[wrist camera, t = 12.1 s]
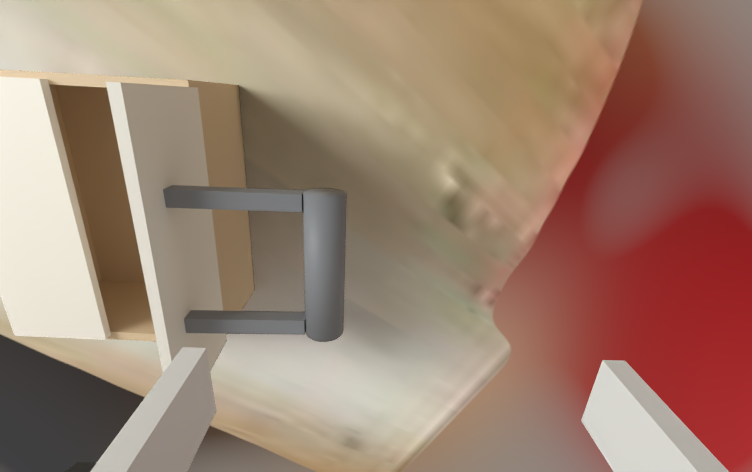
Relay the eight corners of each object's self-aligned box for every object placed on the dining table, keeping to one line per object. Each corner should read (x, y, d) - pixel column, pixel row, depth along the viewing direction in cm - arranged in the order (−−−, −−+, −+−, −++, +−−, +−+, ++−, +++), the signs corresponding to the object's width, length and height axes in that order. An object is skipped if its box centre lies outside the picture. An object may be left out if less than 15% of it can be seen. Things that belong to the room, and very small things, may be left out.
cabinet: (49, 74, 31) (-84, 64, 22) (238, 85, 31) (183, 79, 22) (101, 283, 38) (16, 339, 29) (254, 290, 38) (217, 348, 29)
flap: (105, 81, 15) (347, 95, 16) (187, 86, 23) (350, 96, 23) (172, 422, 22) (340, 422, 23) (219, 340, 29) (344, 342, 30)
